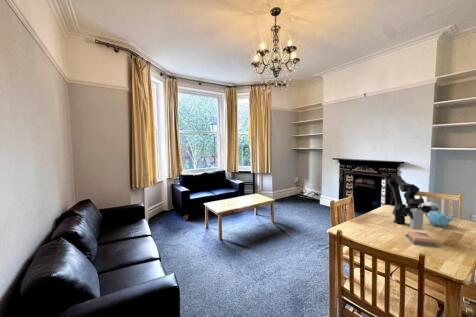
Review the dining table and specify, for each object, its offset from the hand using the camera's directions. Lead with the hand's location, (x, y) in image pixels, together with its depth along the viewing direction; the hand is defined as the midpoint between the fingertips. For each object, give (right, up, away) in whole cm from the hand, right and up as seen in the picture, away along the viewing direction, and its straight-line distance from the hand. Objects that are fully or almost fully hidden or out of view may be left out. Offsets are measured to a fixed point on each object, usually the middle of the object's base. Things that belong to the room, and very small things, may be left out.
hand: (417, 219), depth 143 cm
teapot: (+36, -11, +21) cm, 43 cm away
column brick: (+1, -6, +2) cm, 7 cm away
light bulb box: (+48, -9, +43) cm, 65 cm away
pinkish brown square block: (-1, -14, -3) cm, 14 cm away
